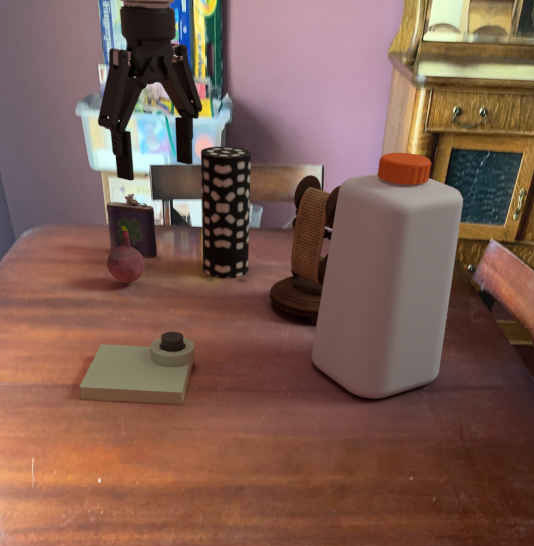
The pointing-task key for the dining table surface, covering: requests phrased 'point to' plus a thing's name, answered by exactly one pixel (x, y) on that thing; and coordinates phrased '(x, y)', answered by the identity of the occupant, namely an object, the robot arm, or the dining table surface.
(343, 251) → the plastic bottle
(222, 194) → the white-spotted black cylinder
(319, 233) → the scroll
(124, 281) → the vegetable
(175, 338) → the button
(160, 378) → the scale
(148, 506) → the dining table surface
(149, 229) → the flask
